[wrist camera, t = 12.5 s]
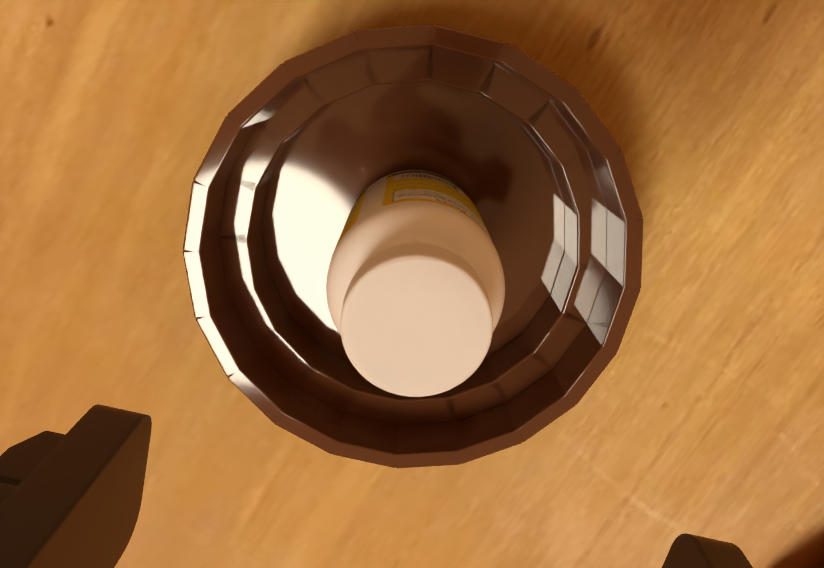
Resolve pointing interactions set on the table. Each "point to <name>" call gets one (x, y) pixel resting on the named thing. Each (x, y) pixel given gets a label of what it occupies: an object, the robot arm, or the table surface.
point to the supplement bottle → (415, 284)
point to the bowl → (383, 155)
